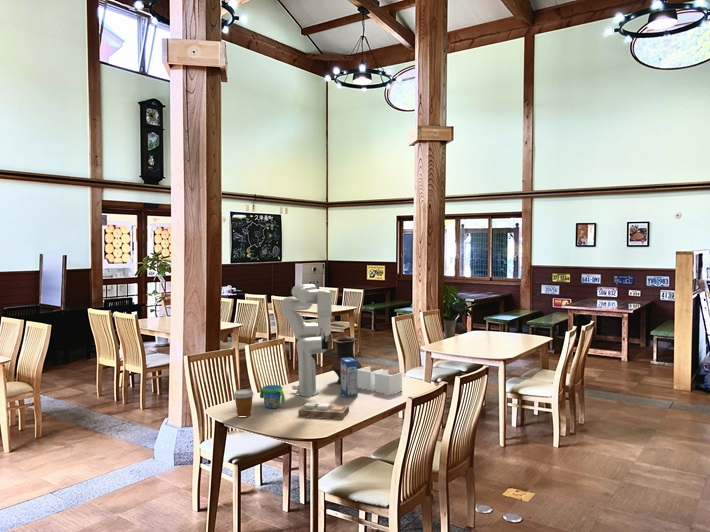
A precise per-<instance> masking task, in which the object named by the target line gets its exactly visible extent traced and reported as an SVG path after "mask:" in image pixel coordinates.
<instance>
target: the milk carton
mask: <svg viewBox="0 0 710 532" xmlns="http://www.w3.org/2000/svg"><path fill="white" fill-rule="evenodd" d="M340 365H341V384H340V395H342V396H343V397H345V398H346V397H347V399H349V398H348V397H351V398H356V397H355V396H358V390H359V388H358V387H357V360H355V359H353V358H351V357H350V358H340ZM358 397H359V396H358Z"/></svg>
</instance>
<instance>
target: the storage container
mask: <svg viewBox="0 0 710 532" xmlns="http://www.w3.org/2000/svg"><path fill="white" fill-rule="evenodd" d="M371 369H372V367H371V366H366V367H361V369H357V387H358V389H360V388H362V389H361V390H364V389H367V390H366V391H369V390H373V391H374V392H375V391H376V392H375V393H377V392H380V393H379V394H382V393H384V394H383V395H386V394H389V395H388V396H391V395H390V394H392V395H394V394H393V393H395V394H397V393H396V392H399V393H401V392H400V391H402V392H403V373H402V371H400V372H398V373H395V374H389V371H390V370H389V369H384V368H380V369H377V370H373V371H372V370H371ZM374 389H375V390H374Z"/></svg>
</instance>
